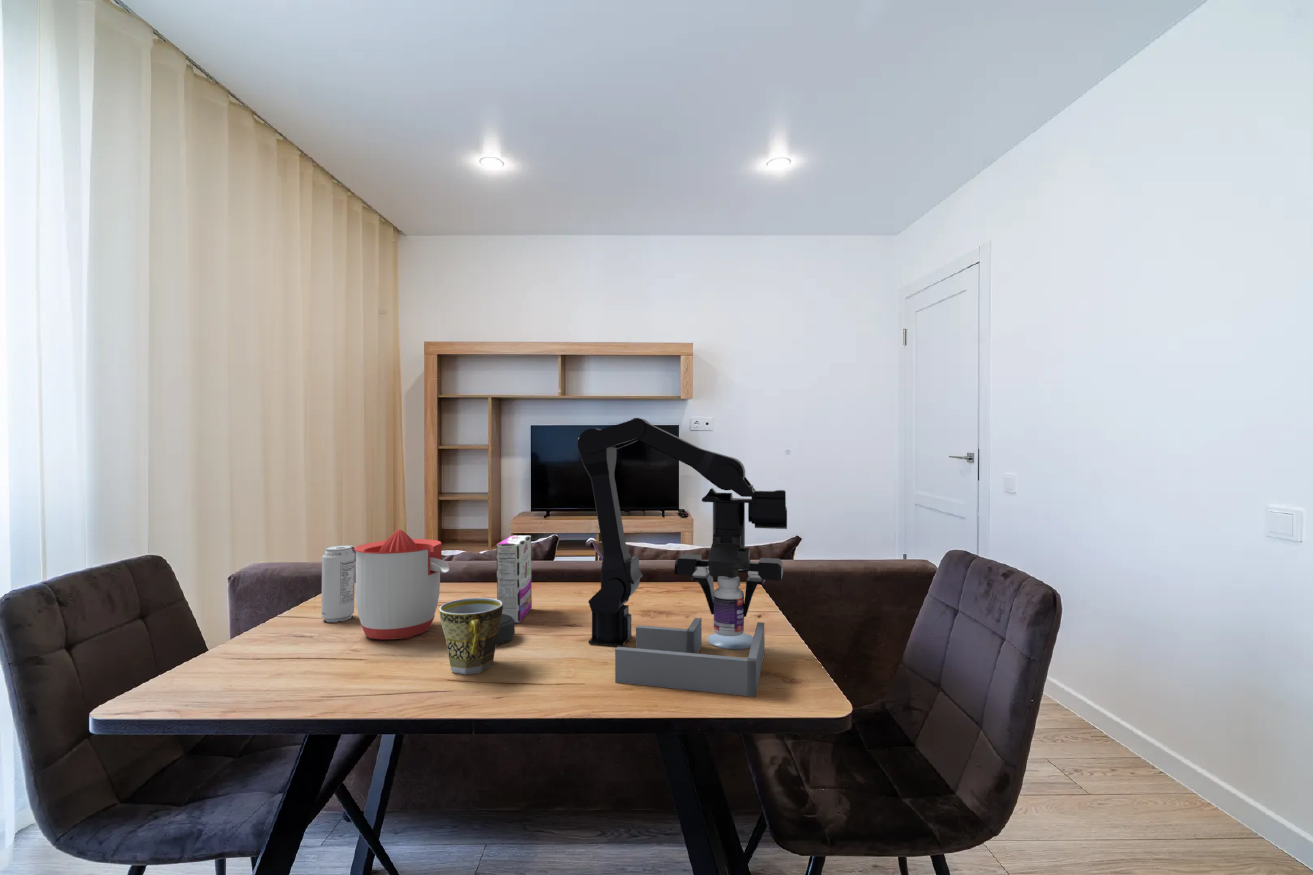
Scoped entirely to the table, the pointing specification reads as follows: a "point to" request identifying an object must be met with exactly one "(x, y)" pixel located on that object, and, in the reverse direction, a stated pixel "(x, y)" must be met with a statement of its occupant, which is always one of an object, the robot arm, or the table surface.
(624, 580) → the robot arm
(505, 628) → the smart speaker
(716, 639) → the pad
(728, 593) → the pill bottle
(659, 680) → the channel
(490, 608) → the ceramic cup
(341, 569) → the energy drink can
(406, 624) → the citrus juicer
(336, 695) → the table surface
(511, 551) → the candy bar box
